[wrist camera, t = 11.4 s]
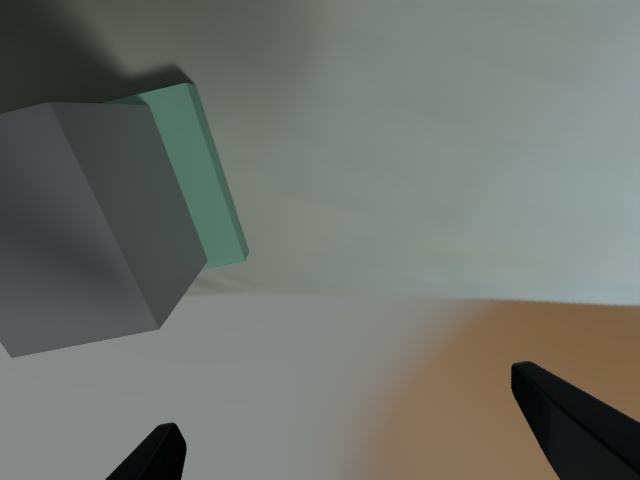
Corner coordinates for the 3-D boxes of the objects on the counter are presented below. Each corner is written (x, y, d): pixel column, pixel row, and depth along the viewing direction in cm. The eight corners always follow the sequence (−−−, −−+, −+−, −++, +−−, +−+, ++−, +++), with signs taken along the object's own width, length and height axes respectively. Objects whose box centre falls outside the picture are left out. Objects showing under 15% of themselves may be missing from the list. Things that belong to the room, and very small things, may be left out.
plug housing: (149, 105, 15) (48, 101, 9) (207, 260, 18) (159, 329, 12) (27, 134, 15) (-140, 148, 10) (105, 281, 18) (11, 357, 12)
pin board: (195, 84, 16) (167, 78, 13) (249, 252, 19) (237, 278, 16) (4, 130, 16) (-66, 134, 13) (88, 284, 19) (47, 316, 16)
